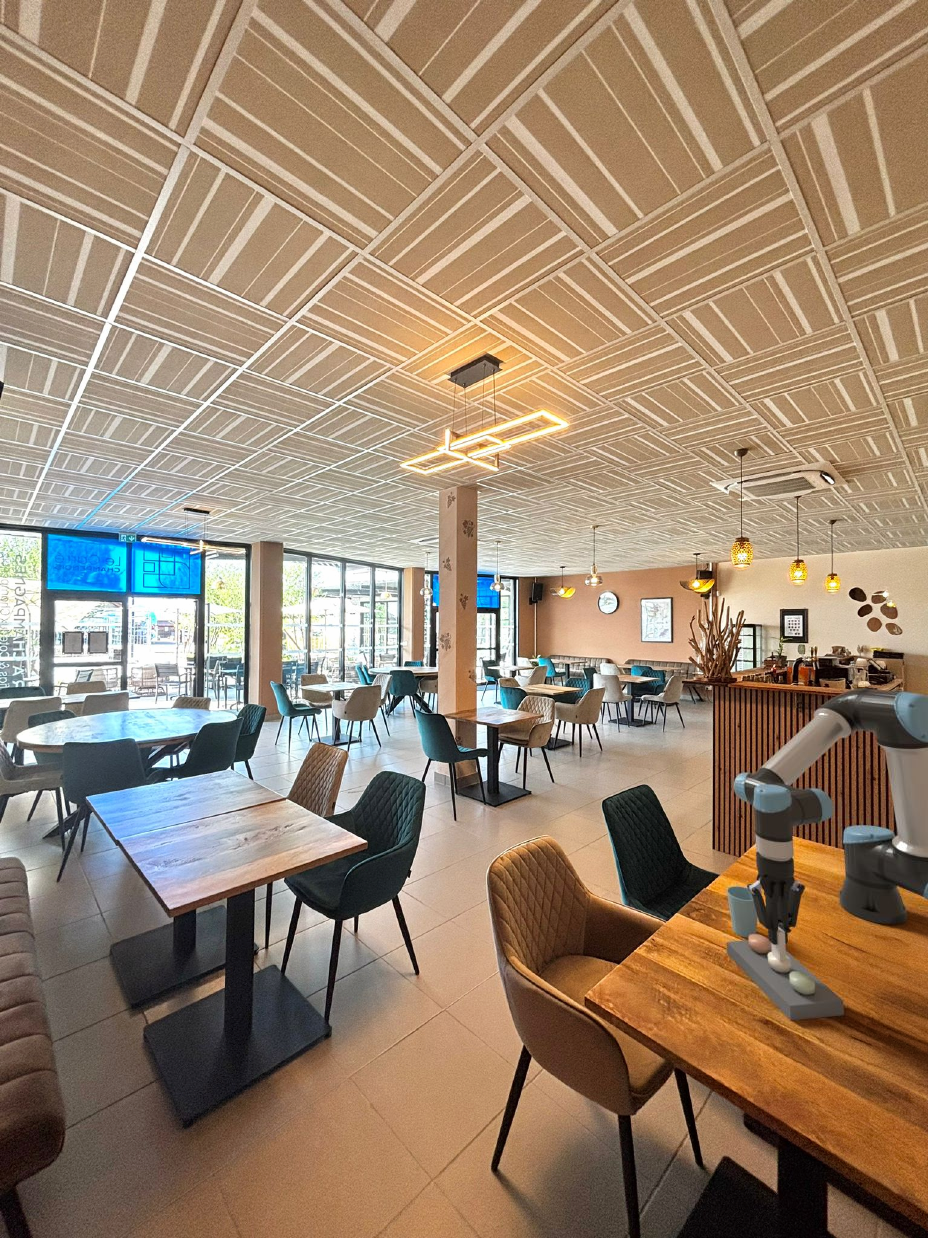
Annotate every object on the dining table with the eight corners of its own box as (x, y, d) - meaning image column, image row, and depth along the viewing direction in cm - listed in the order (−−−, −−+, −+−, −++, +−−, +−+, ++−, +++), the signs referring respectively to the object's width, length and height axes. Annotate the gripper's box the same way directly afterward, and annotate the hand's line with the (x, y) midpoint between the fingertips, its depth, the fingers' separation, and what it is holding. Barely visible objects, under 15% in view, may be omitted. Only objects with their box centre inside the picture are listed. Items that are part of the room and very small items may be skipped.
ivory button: (782, 968, 120) (781, 951, 120) (796, 981, 115) (795, 963, 115) (764, 969, 119) (763, 952, 119) (777, 983, 115) (776, 965, 115)
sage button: (804, 988, 113) (803, 970, 113) (821, 1004, 108) (820, 985, 108) (785, 990, 112) (784, 972, 112) (800, 1006, 108) (799, 986, 108)
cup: (767, 936, 134) (765, 896, 135) (748, 944, 131) (746, 903, 132) (741, 921, 141) (739, 883, 142) (722, 929, 138) (720, 890, 139)
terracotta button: (762, 949, 127) (761, 933, 127) (775, 961, 122) (774, 944, 122) (745, 951, 126) (744, 935, 126) (757, 963, 122) (756, 946, 122)
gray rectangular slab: (771, 950, 129) (771, 938, 129) (844, 1015, 107) (843, 1000, 107) (727, 954, 128) (726, 942, 128) (790, 1020, 106) (789, 1006, 106)
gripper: (789, 845, 122) (793, 945, 122) (737, 849, 121) (742, 949, 120) (813, 859, 115) (817, 965, 114) (758, 863, 114) (763, 970, 113)
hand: (778, 957), depth 117 cm, fingers closed
